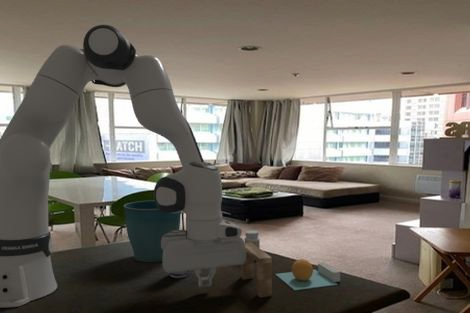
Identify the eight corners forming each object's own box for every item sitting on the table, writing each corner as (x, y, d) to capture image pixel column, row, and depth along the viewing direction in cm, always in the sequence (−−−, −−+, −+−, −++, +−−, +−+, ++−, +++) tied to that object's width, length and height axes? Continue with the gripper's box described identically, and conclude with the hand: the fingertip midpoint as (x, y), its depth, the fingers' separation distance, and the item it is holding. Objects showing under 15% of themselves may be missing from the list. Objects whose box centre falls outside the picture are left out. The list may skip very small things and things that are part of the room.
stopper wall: (333, 282, 101) (333, 272, 101) (318, 272, 109) (318, 263, 108) (340, 281, 102) (340, 271, 101) (324, 271, 109) (324, 262, 109)
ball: (320, 273, 101) (305, 288, 100) (310, 267, 106) (295, 281, 105) (309, 258, 100) (293, 272, 99) (299, 252, 105) (284, 266, 104)
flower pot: (161, 246, 137) (160, 198, 136) (194, 256, 124) (193, 203, 123) (113, 257, 124) (112, 204, 123) (145, 270, 111) (144, 211, 111)
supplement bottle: (249, 255, 125) (248, 229, 125) (262, 257, 123) (262, 231, 123) (241, 259, 121) (241, 232, 121) (255, 261, 119) (255, 234, 118)
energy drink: (185, 279, 104) (185, 234, 104) (166, 277, 105) (166, 233, 105) (191, 272, 109) (191, 230, 109) (173, 271, 110) (173, 229, 110)
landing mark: (294, 290, 96) (294, 289, 96) (275, 274, 107) (275, 273, 107) (337, 284, 99) (337, 284, 99) (314, 270, 110) (314, 269, 110)
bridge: (259, 297, 92) (259, 258, 91) (240, 277, 105) (240, 243, 105) (271, 295, 92) (271, 257, 92) (251, 275, 106) (251, 242, 106)
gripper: (162, 235, 88) (163, 295, 89) (247, 228, 94) (248, 285, 95) (159, 229, 94) (160, 286, 95) (239, 223, 100) (240, 276, 101)
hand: (205, 285), depth 95 cm, fingers closed
